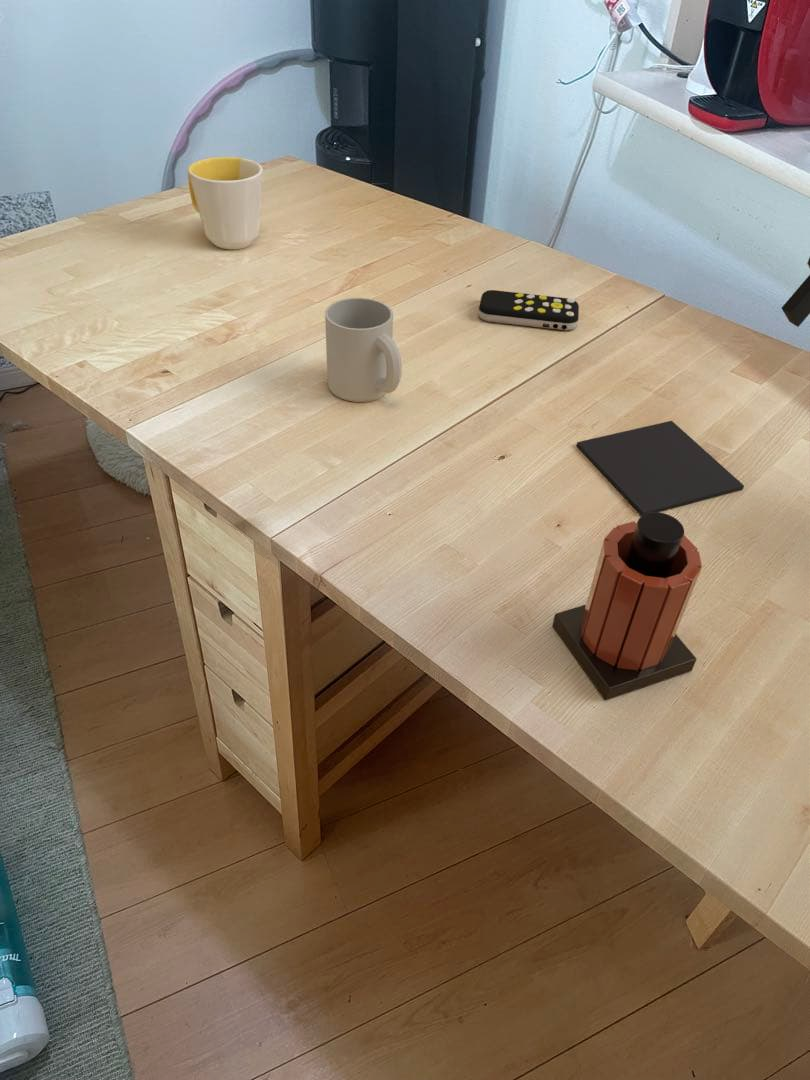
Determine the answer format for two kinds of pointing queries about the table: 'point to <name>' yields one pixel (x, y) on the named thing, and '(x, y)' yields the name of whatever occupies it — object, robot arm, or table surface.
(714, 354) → the table surface
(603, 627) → the sleeve ring
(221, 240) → the mug
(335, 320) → the cup
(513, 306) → the remote control
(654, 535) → the post stand
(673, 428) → the mat
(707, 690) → the table surface
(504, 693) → the table surface
